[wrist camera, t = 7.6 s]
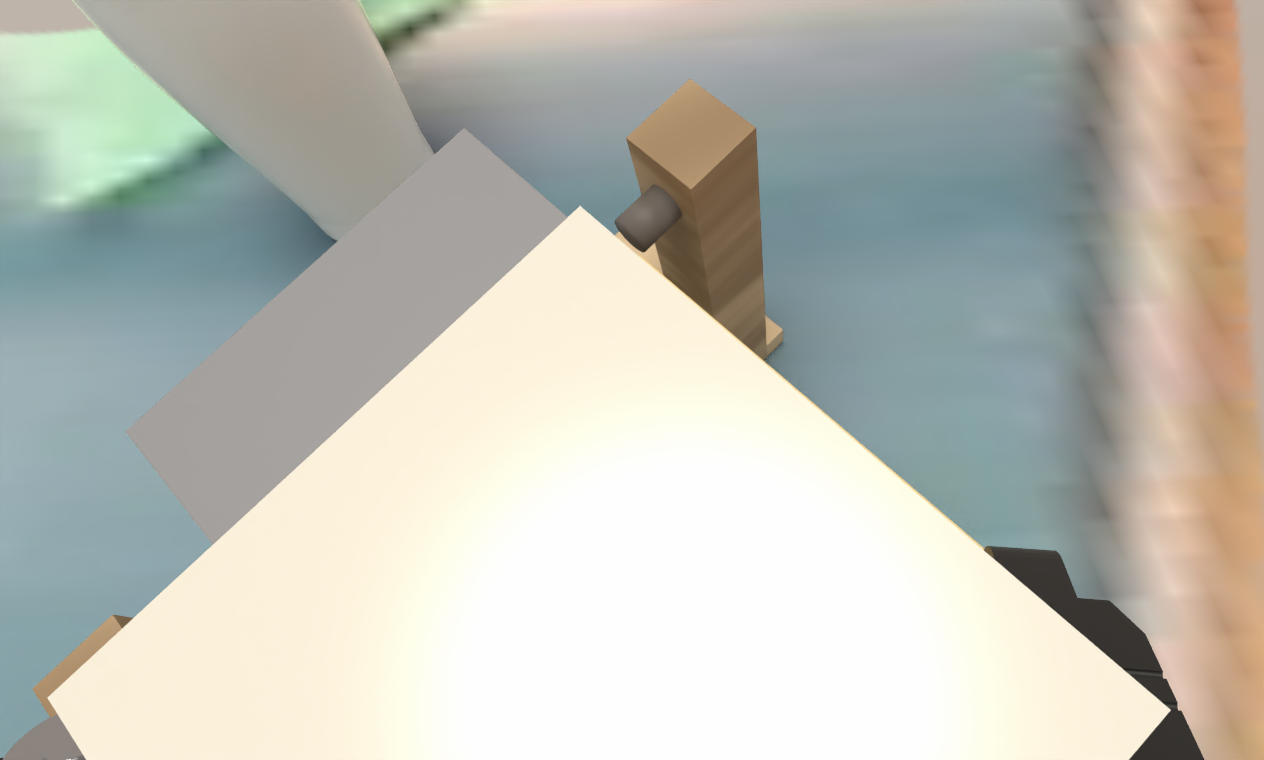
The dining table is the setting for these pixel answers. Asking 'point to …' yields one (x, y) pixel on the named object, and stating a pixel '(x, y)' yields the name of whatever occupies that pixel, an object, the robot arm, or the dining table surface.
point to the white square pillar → (597, 572)
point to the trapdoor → (346, 332)
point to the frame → (656, 243)
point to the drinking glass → (281, 92)
